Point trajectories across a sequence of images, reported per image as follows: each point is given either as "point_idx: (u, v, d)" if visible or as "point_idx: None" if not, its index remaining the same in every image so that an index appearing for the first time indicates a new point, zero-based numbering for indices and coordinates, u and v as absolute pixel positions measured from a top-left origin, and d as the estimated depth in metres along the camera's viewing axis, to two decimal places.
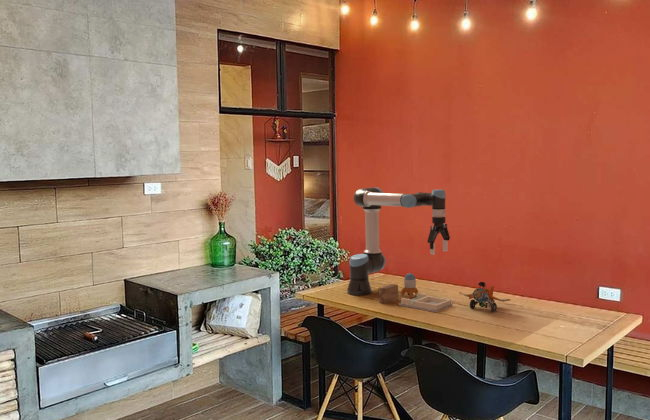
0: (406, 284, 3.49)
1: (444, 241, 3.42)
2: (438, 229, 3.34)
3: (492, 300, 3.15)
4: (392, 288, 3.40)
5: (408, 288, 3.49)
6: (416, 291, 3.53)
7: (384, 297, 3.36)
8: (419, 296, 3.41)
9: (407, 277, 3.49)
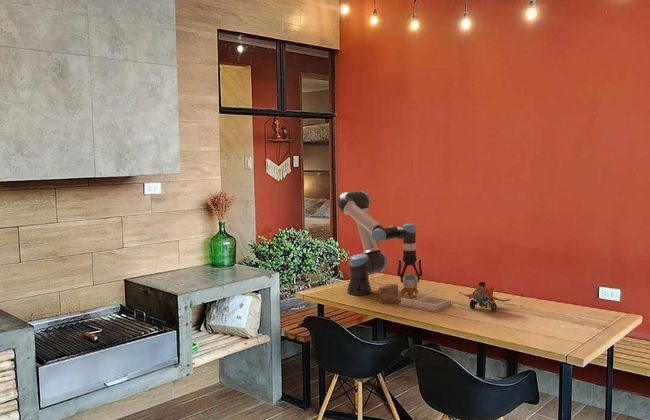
0: (406, 284, 3.49)
1: None
2: (406, 263, 3.47)
3: (492, 300, 3.15)
4: (392, 288, 3.40)
5: (408, 288, 3.49)
6: (416, 291, 3.53)
7: (384, 297, 3.36)
8: (419, 296, 3.41)
9: (407, 277, 3.49)
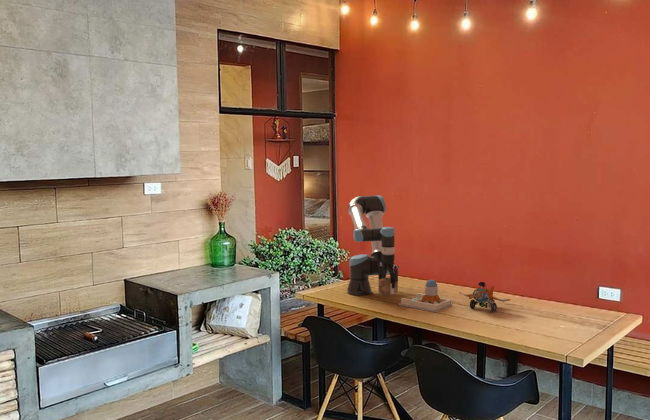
0: (427, 291, 3.25)
1: None
2: (383, 266, 3.41)
3: (492, 300, 3.15)
4: None
5: (429, 296, 3.25)
6: (438, 299, 3.29)
7: (384, 289, 3.36)
8: (419, 296, 3.41)
9: (428, 284, 3.25)
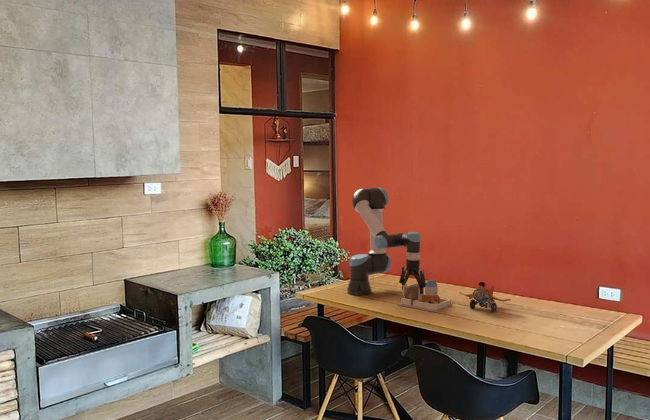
0: (427, 291, 3.25)
1: None
2: (407, 271, 3.35)
3: (492, 300, 3.15)
4: None
5: (429, 296, 3.25)
6: (438, 299, 3.29)
7: (410, 297, 3.30)
8: None
9: (428, 284, 3.25)
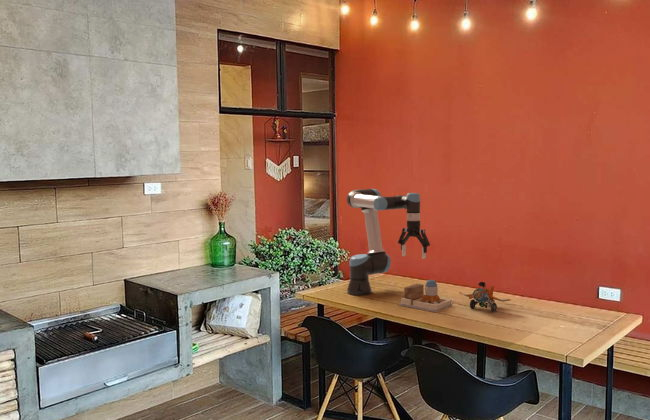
0: (427, 291, 3.25)
1: None
2: (408, 232, 3.32)
3: (492, 300, 3.15)
4: (418, 288, 3.34)
5: (429, 296, 3.25)
6: (438, 299, 3.29)
7: (410, 297, 3.30)
8: None
9: (428, 284, 3.25)
